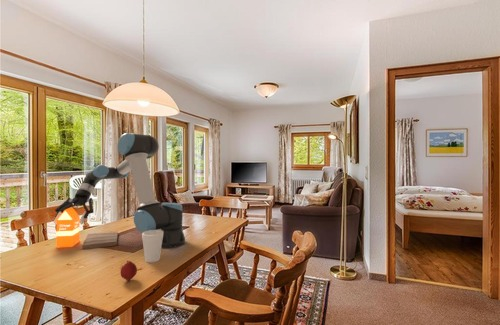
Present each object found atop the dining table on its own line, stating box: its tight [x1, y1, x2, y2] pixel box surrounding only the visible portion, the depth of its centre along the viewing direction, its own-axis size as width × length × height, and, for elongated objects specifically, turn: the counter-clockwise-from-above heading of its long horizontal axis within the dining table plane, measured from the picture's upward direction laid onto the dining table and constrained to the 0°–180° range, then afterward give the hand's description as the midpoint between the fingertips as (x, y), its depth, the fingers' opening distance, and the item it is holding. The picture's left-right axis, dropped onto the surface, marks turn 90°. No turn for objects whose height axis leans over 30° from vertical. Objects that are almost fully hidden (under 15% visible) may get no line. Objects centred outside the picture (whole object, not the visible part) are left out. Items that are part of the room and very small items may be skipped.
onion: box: [120, 260, 138, 282], centre depth 98 cm, size 6×6×8 cm
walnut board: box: [81, 230, 119, 250], centre depth 144 cm, size 22×16×2 cm
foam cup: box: [141, 229, 163, 263], centre depth 118 cm, size 10×9×13 cm
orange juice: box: [55, 207, 81, 248], centre depth 138 cm, size 8×9×20 cm
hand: (68, 223), depth 138 cm, fingers open, 13 cm apart
